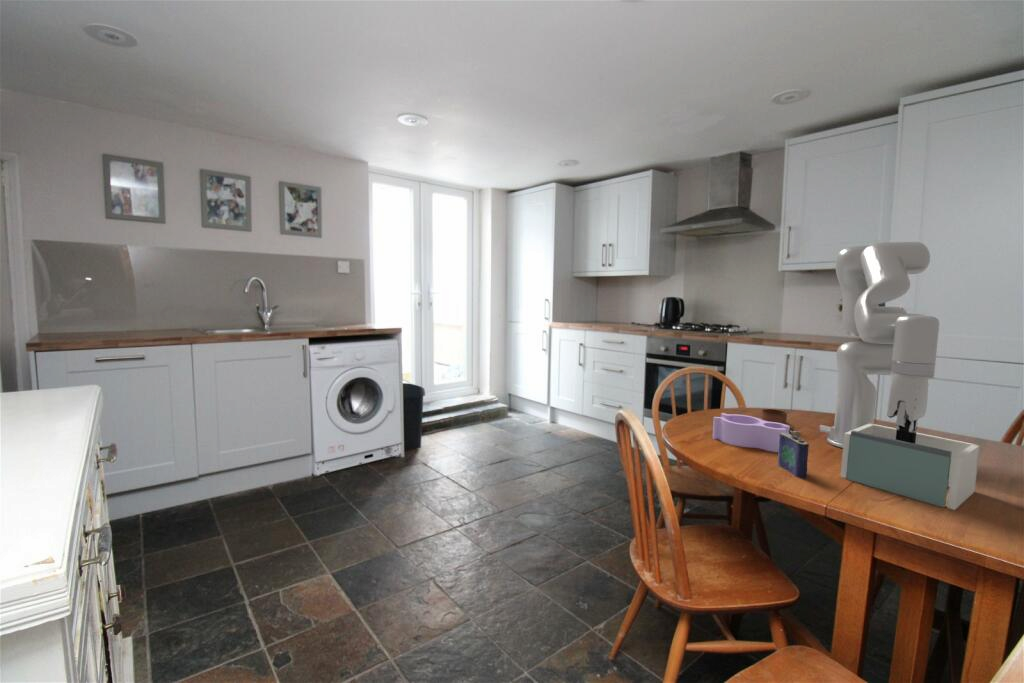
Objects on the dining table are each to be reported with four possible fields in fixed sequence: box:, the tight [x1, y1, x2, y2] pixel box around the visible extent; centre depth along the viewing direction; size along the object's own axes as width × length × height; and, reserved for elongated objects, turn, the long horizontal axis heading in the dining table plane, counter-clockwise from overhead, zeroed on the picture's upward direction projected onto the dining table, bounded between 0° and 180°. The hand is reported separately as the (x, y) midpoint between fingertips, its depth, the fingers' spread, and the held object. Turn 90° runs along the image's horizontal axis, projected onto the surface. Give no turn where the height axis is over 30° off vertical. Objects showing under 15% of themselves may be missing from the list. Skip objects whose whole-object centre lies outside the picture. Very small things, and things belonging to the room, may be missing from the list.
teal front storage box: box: [839, 423, 981, 511], centre depth 111 cm, size 16×21×12 cm
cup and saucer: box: [761, 408, 795, 432], centre depth 158 cm, size 12×12×6 cm
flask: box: [776, 430, 810, 480], centre depth 118 cm, size 10×3×12 cm, turn 1°
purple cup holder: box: [712, 412, 790, 453], centre depth 144 cm, size 20×12×7 cm, turn 46°
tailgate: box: [846, 431, 952, 508], centre depth 106 cm, size 1×18×12 cm, turn 35°
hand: (904, 448), depth 108 cm, fingers closed
